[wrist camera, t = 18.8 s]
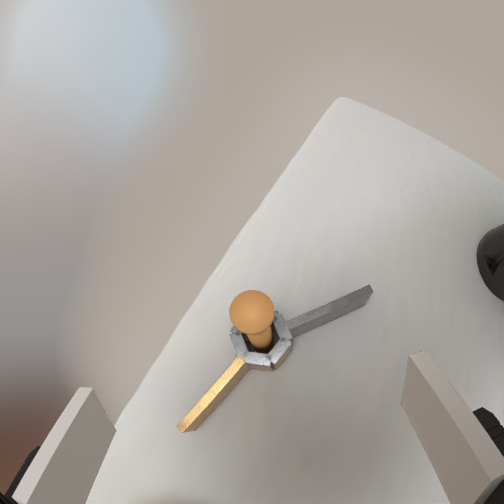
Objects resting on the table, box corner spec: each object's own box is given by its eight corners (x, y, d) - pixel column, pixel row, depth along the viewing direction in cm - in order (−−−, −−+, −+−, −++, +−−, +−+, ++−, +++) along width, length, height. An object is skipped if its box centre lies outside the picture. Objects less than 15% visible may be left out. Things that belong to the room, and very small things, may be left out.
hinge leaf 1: (300, 338, 45) (302, 328, 40) (211, 444, 38) (200, 448, 33) (261, 310, 48) (258, 297, 43) (174, 411, 41) (159, 410, 36)
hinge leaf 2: (250, 379, 43) (244, 375, 38) (231, 330, 47) (223, 319, 42) (374, 325, 45) (384, 313, 39) (350, 280, 49) (357, 263, 43)
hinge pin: (284, 342, 45) (283, 306, 30) (266, 365, 44) (254, 341, 29) (261, 325, 47) (248, 282, 32) (243, 347, 45) (220, 314, 30)
